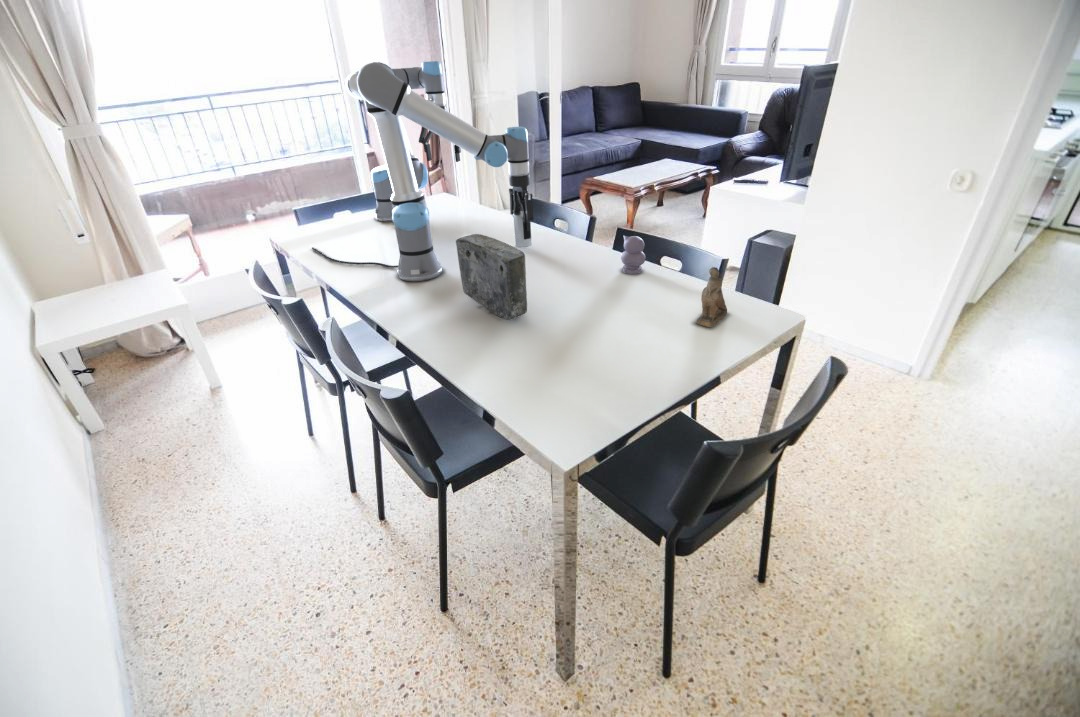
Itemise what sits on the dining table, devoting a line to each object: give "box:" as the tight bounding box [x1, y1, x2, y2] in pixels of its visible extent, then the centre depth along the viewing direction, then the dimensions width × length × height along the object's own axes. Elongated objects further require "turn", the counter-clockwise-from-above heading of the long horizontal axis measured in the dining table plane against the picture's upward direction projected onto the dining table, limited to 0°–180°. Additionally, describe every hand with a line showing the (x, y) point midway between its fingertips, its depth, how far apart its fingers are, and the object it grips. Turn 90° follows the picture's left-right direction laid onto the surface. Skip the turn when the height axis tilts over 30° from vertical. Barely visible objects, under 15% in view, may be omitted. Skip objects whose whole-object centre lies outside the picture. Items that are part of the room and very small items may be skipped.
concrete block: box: [455, 233, 528, 321], centre depth 143 cm, size 27×9×20 cm, turn 36°
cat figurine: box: [620, 234, 646, 275], centre depth 168 cm, size 9×8×12 cm
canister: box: [512, 210, 533, 249], centre depth 190 cm, size 6×6×12 cm
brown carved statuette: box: [695, 266, 728, 328], centre depth 135 cm, size 12×6×18 cm, turn 136°
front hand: (522, 236), depth 192 cm, fingers closed on canister, 6 cm apart
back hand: (443, 161), depth 212 cm, fingers open, 13 cm apart
